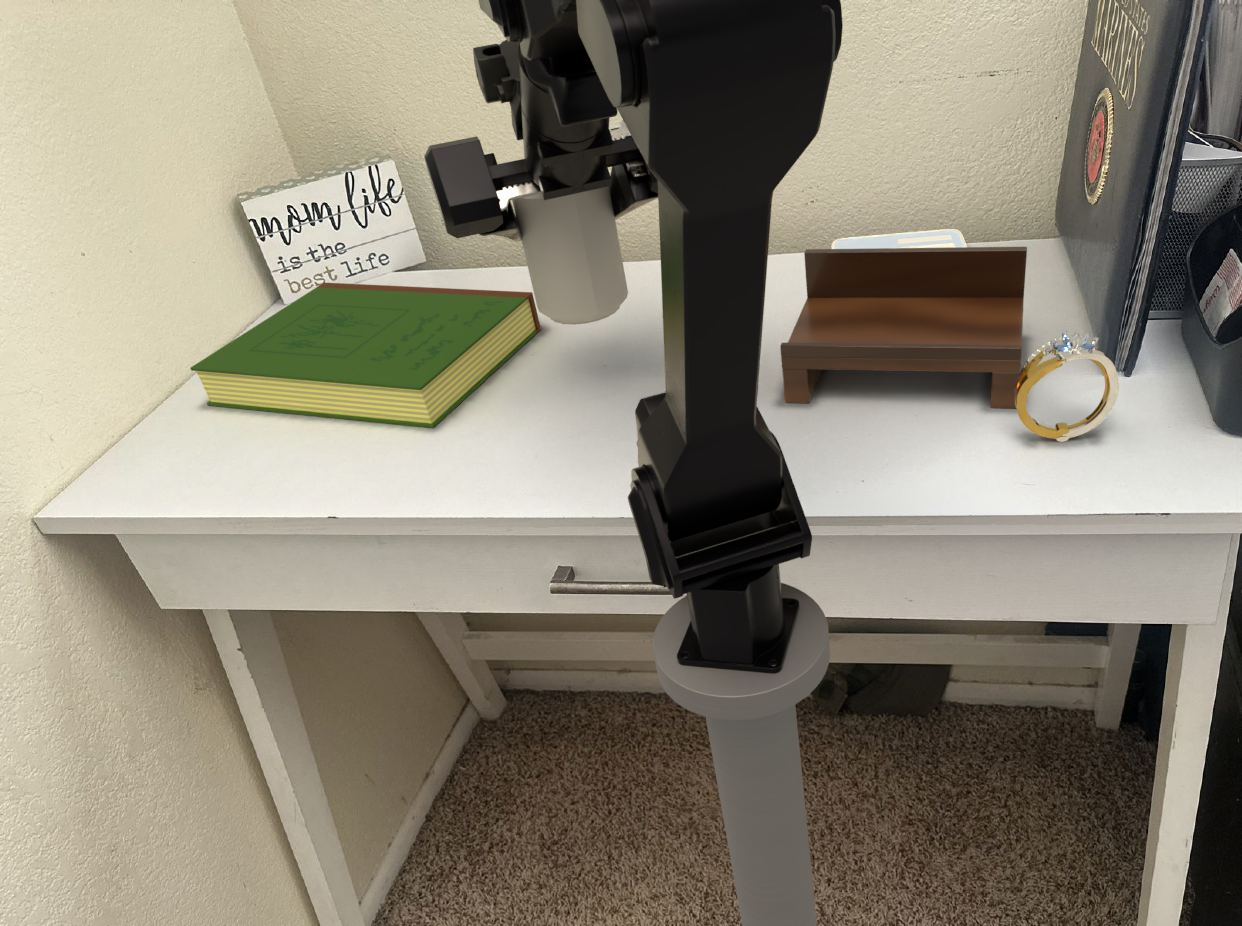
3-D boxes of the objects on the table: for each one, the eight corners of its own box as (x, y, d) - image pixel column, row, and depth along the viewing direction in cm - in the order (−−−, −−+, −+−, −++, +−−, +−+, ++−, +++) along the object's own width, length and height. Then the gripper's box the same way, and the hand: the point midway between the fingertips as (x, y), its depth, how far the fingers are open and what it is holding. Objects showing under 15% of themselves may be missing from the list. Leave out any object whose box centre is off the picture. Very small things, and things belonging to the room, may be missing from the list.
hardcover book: (541, 329, 98) (532, 292, 96) (433, 428, 84) (420, 387, 82) (330, 316, 106) (318, 282, 104) (201, 404, 92) (183, 367, 90)
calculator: (838, 337, 90) (837, 316, 89) (830, 253, 106) (829, 235, 105) (991, 325, 89) (992, 304, 88) (960, 242, 105) (961, 224, 103)
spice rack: (1017, 408, 77) (1024, 309, 72) (784, 402, 81) (776, 309, 77) (1020, 338, 86) (1027, 246, 81) (811, 336, 91) (805, 249, 86)
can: (611, 284, 88) (584, 139, 81) (643, 312, 82) (617, 159, 75) (528, 307, 85) (493, 160, 78) (555, 337, 80) (519, 182, 73)
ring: (1106, 424, 74) (1120, 322, 69) (1116, 448, 71) (1130, 343, 67) (1008, 429, 75) (1015, 328, 70) (1014, 452, 72) (1021, 349, 67)
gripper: (664, -28, 69) (645, 113, 84) (386, 19, 65) (419, 159, 80) (716, 118, 68) (687, 234, 83) (435, 175, 63) (459, 287, 78)
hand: (565, 225), depth 81 cm, fingers closed on can, 7 cm apart
